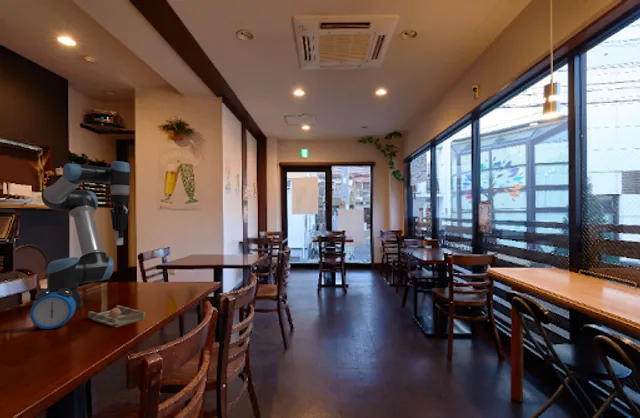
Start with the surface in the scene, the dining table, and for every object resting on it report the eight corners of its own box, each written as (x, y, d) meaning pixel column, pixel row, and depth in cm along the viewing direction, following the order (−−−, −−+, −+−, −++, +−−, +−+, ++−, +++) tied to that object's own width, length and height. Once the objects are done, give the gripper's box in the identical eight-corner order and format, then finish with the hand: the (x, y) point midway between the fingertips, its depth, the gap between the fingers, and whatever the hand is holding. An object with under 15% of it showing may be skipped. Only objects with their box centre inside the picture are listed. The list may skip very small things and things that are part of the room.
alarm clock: (28, 332, 121) (29, 292, 121) (35, 327, 126) (36, 288, 127) (71, 327, 126) (72, 288, 127) (75, 322, 132) (76, 285, 132)
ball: (113, 312, 134) (110, 320, 135) (123, 310, 138) (120, 318, 138) (109, 307, 136) (106, 315, 137) (119, 305, 140) (116, 312, 140)
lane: (88, 318, 137) (88, 311, 138) (118, 311, 148) (118, 304, 148) (115, 327, 126) (115, 319, 126) (145, 319, 136) (145, 311, 136)
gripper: (104, 194, 151) (103, 244, 151) (119, 193, 144) (118, 246, 144) (120, 195, 158) (120, 243, 157) (135, 194, 151) (135, 244, 150)
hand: (119, 244), depth 150 cm, fingers closed
